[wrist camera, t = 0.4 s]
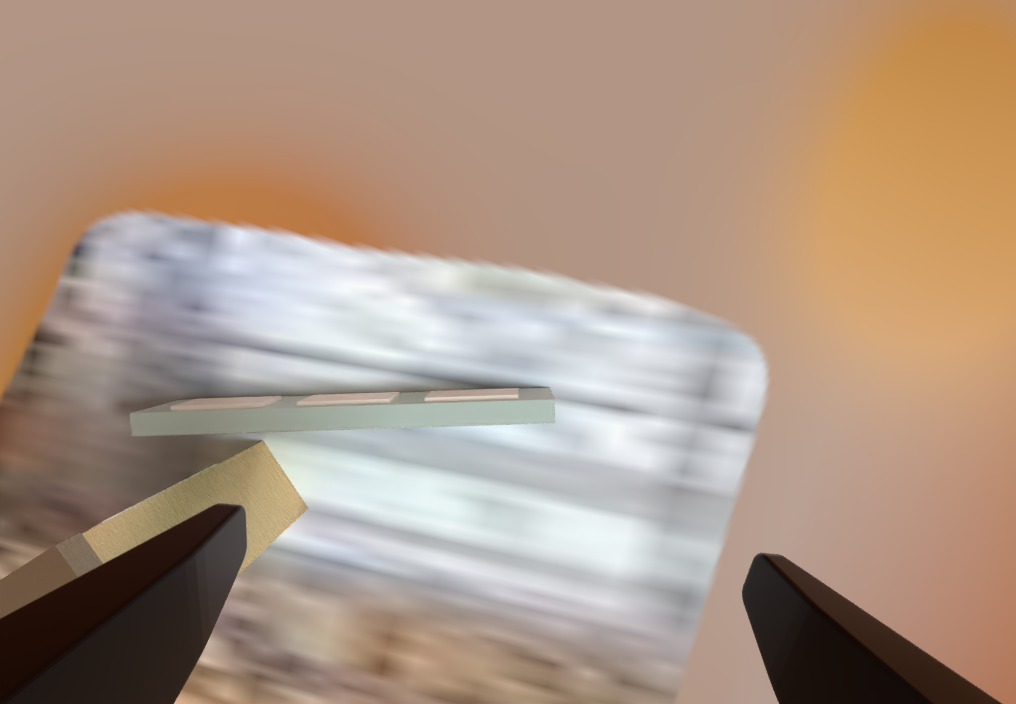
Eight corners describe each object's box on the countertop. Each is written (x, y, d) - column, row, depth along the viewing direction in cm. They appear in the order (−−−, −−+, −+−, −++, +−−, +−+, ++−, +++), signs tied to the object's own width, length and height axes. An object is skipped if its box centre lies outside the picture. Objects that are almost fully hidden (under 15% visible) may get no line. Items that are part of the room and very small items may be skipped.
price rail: (181, 419, 25) (131, 436, 21) (179, 395, 24) (129, 409, 21) (550, 408, 24) (555, 423, 21) (549, 383, 24) (554, 395, 21)
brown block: (225, 560, 25) (-3, 757, 14) (178, 491, 25) (-93, 637, 14) (309, 508, 25) (142, 667, 14) (262, 438, 25) (54, 543, 14)
